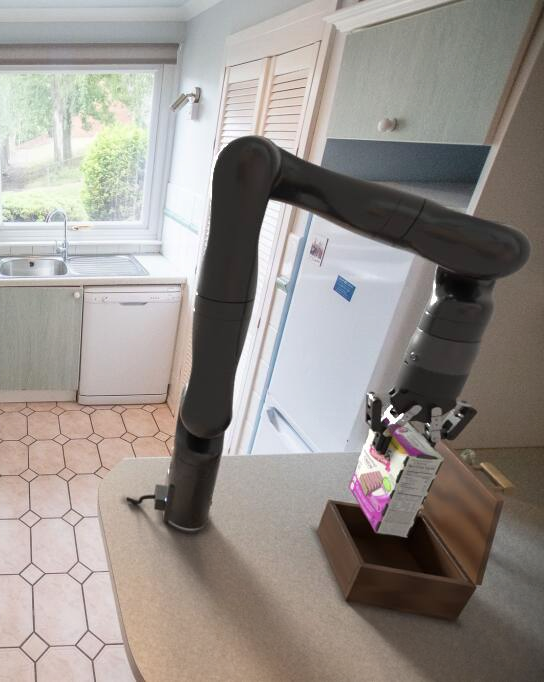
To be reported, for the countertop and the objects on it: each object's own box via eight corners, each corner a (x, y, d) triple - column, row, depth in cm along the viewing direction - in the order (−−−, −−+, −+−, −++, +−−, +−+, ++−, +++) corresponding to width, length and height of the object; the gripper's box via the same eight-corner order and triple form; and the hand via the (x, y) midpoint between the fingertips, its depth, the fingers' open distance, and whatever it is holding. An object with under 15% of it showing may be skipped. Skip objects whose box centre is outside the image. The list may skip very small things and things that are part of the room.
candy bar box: (345, 486, 84) (373, 412, 77) (376, 490, 83) (406, 415, 76) (373, 534, 74) (408, 454, 67) (408, 539, 73) (447, 458, 66)
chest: (345, 601, 80) (361, 566, 77) (316, 531, 94) (328, 499, 91) (455, 622, 77) (477, 587, 73) (408, 546, 91) (424, 514, 87)
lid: (497, 501, 66) (545, 501, 65) (436, 436, 80) (475, 436, 79) (475, 585, 73) (519, 587, 71) (422, 512, 87) (458, 513, 85)
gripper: (479, 354, 68) (437, 446, 75) (370, 345, 71) (340, 434, 78) (514, 378, 61) (464, 476, 68) (393, 367, 64) (357, 462, 71)
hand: (398, 453), depth 73 cm, fingers closed on candy bar box, 5 cm apart
